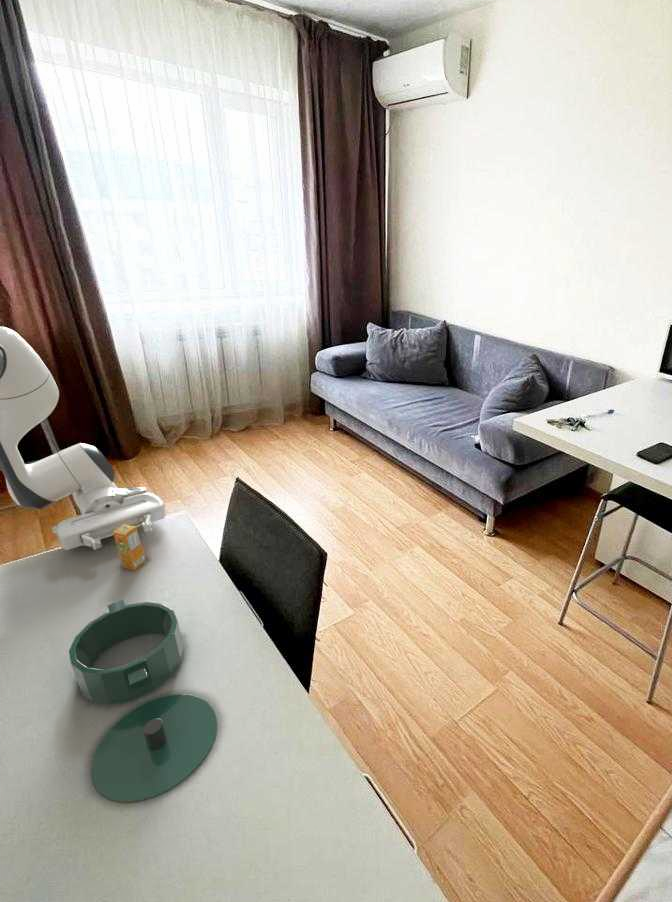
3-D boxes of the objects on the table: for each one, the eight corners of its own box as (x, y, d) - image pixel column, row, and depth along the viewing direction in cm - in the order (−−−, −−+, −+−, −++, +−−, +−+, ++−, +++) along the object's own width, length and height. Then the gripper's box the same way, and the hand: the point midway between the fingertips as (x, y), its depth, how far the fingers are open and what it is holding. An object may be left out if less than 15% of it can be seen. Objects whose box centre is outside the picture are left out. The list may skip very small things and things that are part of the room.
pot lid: (102, 834, 61) (93, 812, 59) (85, 737, 71) (77, 716, 70) (232, 757, 70) (228, 736, 68) (200, 681, 81) (196, 661, 79)
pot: (90, 739, 71) (77, 704, 68) (74, 650, 85) (63, 617, 82) (198, 686, 80) (191, 653, 77) (168, 613, 94) (161, 582, 90)
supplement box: (121, 571, 103) (110, 531, 99) (134, 561, 106) (124, 522, 102) (135, 574, 103) (124, 534, 98) (147, 564, 106) (138, 525, 101)
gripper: (46, 514, 105) (59, 544, 97) (151, 484, 119) (171, 508, 110) (54, 538, 108) (67, 569, 99) (156, 506, 122) (176, 531, 113)
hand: (123, 537), depth 105 cm, fingers open, 8 cm apart
